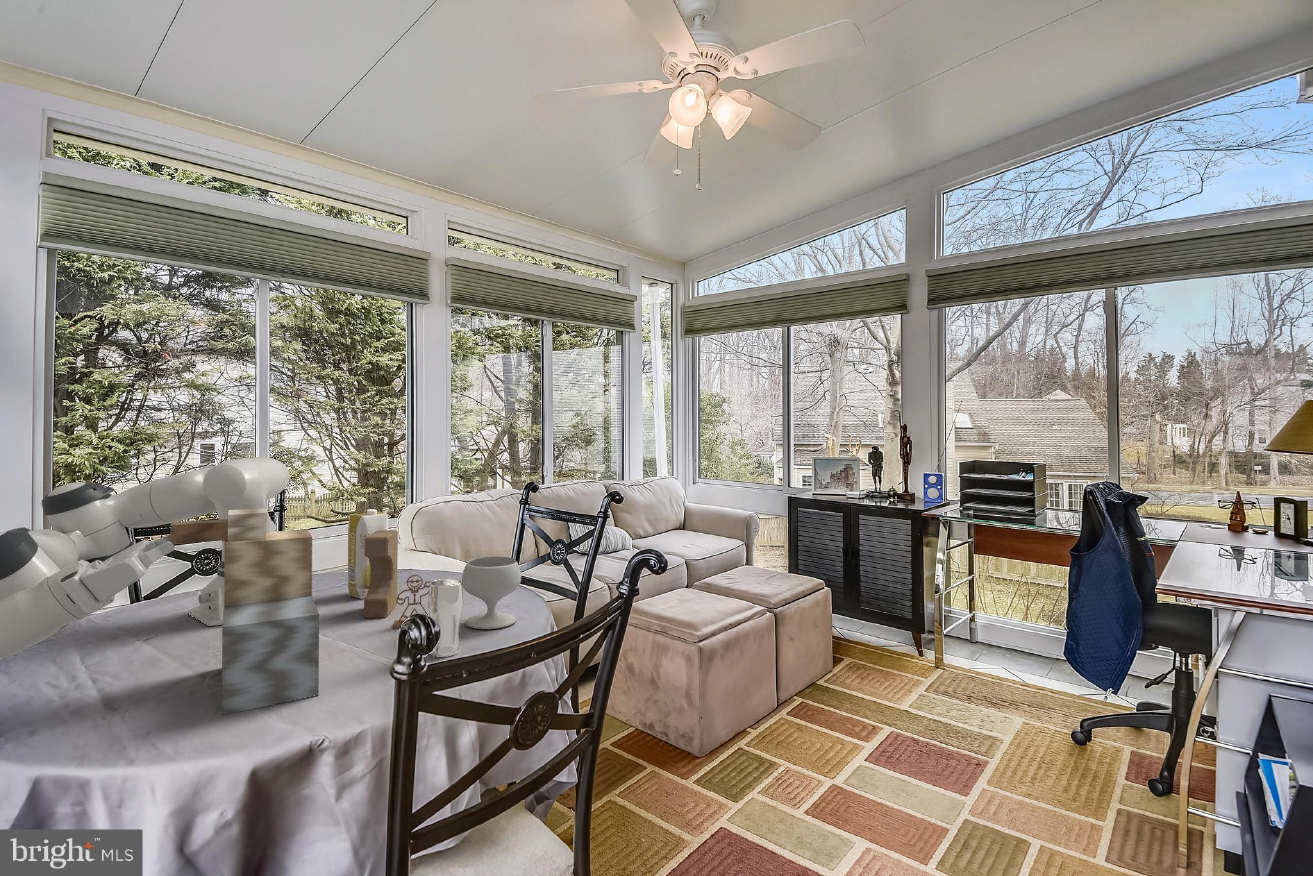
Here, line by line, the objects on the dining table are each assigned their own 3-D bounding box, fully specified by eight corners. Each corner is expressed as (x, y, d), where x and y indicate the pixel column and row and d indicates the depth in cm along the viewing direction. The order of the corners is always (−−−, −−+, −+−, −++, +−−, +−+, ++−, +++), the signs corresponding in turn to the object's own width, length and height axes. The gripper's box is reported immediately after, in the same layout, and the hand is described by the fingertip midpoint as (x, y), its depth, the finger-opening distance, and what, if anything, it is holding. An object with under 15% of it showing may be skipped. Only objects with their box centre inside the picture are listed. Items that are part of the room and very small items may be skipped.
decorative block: (387, 618, 154) (387, 537, 153) (362, 618, 153) (363, 537, 152) (398, 605, 165) (398, 529, 164) (375, 605, 164) (376, 530, 163)
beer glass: (442, 661, 127) (443, 588, 126) (420, 654, 130) (421, 582, 130) (469, 651, 133) (470, 581, 132) (447, 644, 136) (448, 576, 136)
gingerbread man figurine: (394, 629, 146) (394, 578, 145) (393, 624, 149) (394, 574, 149) (434, 624, 149) (435, 575, 149) (433, 620, 153) (433, 571, 153)
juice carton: (360, 600, 168) (361, 512, 167) (343, 596, 172) (344, 509, 171) (391, 593, 175) (392, 508, 175) (375, 589, 180) (375, 506, 179)
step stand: (221, 714, 102) (222, 557, 102) (225, 667, 122) (225, 534, 121) (318, 695, 110) (319, 549, 109) (306, 653, 129) (307, 529, 129)
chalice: (464, 635, 142) (465, 570, 142) (458, 617, 155) (458, 557, 155) (525, 628, 148) (526, 565, 148) (514, 611, 161) (515, 553, 160)
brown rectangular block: (169, 546, 110) (169, 517, 109) (173, 539, 115) (173, 512, 115) (266, 539, 118) (266, 512, 118) (265, 533, 123) (265, 508, 123)
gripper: (109, 587, 115) (189, 544, 122) (87, 616, 99) (181, 564, 105) (86, 560, 114) (169, 517, 120) (59, 585, 97) (158, 534, 103)
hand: (175, 539), depth 112 cm, fingers open, 8 cm apart
